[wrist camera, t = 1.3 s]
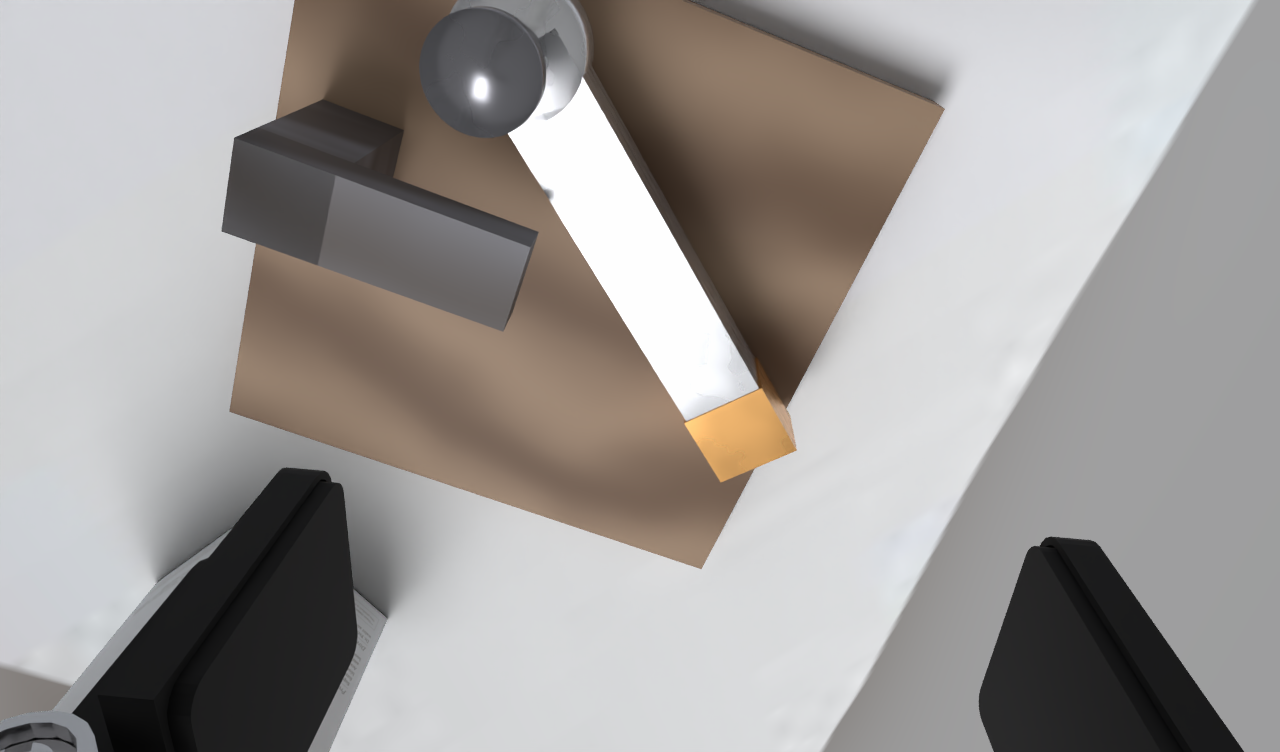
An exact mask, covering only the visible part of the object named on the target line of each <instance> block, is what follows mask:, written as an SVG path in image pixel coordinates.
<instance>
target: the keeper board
mask: <svg viewBox="0 0 1280 752" xmlns="http://www.w3.org/2000/svg"><path fill="white" fill-rule="evenodd" d="M457 1H458V0H295V2H294V8H293V15H292V21H291V27H290V34H289V40H288V46H287V52H286V59H285V65H284V71H283V78H282V84H281V90H280V96H279V103H278V109H277V115H276V120H274V121H272V122H269V123H267V124H265V125H263V126H260V127H258V128H256V129H253V130H251V131H249V132H246V133H244V134H242V135H240V136H237V137H235V138H234V144H233V151H232V158H231V166H230V173H229V180H228V187H227V195H226V202H225V209H224V217H223V224H222V232H225V233H228V234H231V235H233V236H236V237H239V238H242V239H245V240H247V241H250V242H253V243H256V247H255V254H254V260H253V266H252V273H251V279H250V285H249V291H248V298H247V304H246V310H245V317H244V323H243V329H242V335H241V342H240V348H239V354H238V361H237V367H236V373H235V379H234V386H233V392H232V398H231V405H230V411H229V412H232V413H235V414H238V415H241V416H244V417H247V418H250V419H253V420H256V421H259V422H262V423H265V424H268V425H271V426H274V427H277V428H280V429H283V430H286V431H289V432H292V433H295V434H298V435H301V436H304V437H307V438H310V439H313V440H316V441H319V442H322V443H325V444H328V445H331V446H334V447H337V448H340V449H343V450H346V451H349V452H352V453H355V454H358V455H361V456H364V457H367V458H370V459H373V460H376V461H379V462H382V463H385V464H388V465H391V466H394V467H397V468H400V469H403V470H406V471H409V472H412V473H415V474H418V475H421V476H424V477H427V478H430V479H433V480H436V481H439V482H442V483H445V484H448V485H451V486H454V487H457V488H460V489H463V490H466V491H469V492H472V493H475V494H478V495H481V496H484V497H487V498H490V499H493V500H496V501H499V502H502V503H505V504H508V505H511V506H514V507H517V508H520V509H523V510H526V511H529V512H532V513H535V514H538V515H541V516H544V517H547V518H550V519H553V520H556V521H559V522H562V523H565V524H568V525H571V526H574V527H577V528H580V529H583V530H586V531H589V532H592V533H595V534H598V535H601V536H604V537H607V538H610V539H613V540H616V541H619V542H622V543H625V544H628V545H631V546H634V547H637V548H640V549H643V550H646V551H649V552H652V553H655V554H658V555H661V556H664V557H667V558H670V559H673V560H676V561H679V562H682V563H685V564H688V565H691V566H694V567H697V568H700V569H702V567H703V565H704V563H705V561H706V559H707V557H708V555H709V554H710V552H711V550H712V548H713V546H714V544H715V542H716V540H717V538H718V537H719V535H720V533H721V531H722V529H723V527H724V525H725V523H726V521H727V520H728V518H729V516H730V514H731V512H732V510H733V508H734V506H735V504H736V503H737V501H738V499H739V497H740V495H741V493H742V491H743V489H744V487H745V486H746V484H747V482H748V480H749V478H750V476H751V474H752V472H753V470H754V469H755V468H754V469H752V470H749V471H747V472H745V473H742V474H740V475H738V476H735V477H733V478H730V479H728V480H726V481H723V482H720V480H719V479H718V477H717V476H716V474H715V472H714V471H713V469H712V468H711V466H710V464H709V463H708V461H707V460H706V458H705V456H704V455H703V453H702V451H701V450H700V448H699V447H698V445H697V443H696V442H695V440H694V439H693V437H692V435H691V434H690V432H689V431H688V429H687V427H686V426H685V424H684V417H683V415H682V414H681V412H680V410H679V409H678V407H677V406H676V404H675V402H674V401H673V399H672V397H671V396H670V394H669V393H668V391H667V389H666V388H665V386H664V385H663V383H662V381H661V380H660V378H659V376H658V375H657V373H656V372H655V370H654V368H653V367H652V365H651V364H650V362H649V360H648V359H647V357H646V355H645V354H644V352H643V351H642V349H641V347H640V346H639V344H638V343H637V341H636V339H635V338H634V336H633V334H632V333H631V331H630V330H629V328H628V326H627V325H626V323H625V322H624V320H623V318H622V317H621V315H620V313H619V312H618V310H617V309H616V307H615V305H614V304H613V302H612V300H611V299H610V297H609V296H608V294H607V292H606V291H605V289H604V288H603V286H602V284H601V283H600V281H599V279H598V278H597V276H596V275H595V273H594V271H593V270H592V268H591V267H590V265H589V263H588V262H587V260H586V258H585V257H584V255H583V254H582V252H581V250H580V249H579V247H578V246H577V244H576V242H575V241H574V239H573V237H572V236H571V234H570V233H569V231H568V229H567V228H566V226H565V225H564V223H563V221H562V220H561V218H560V216H559V215H558V213H557V212H556V210H555V208H554V207H553V205H552V204H551V202H550V200H549V199H548V197H547V195H546V194H545V192H544V191H543V189H542V187H541V186H540V184H539V182H538V181H537V179H536V178H535V176H534V174H533V173H532V171H531V170H530V168H529V166H528V165H527V163H526V161H525V160H524V158H523V157H522V155H521V153H520V152H519V150H518V149H517V147H516V145H515V144H514V142H513V140H512V139H511V137H510V136H509V134H506V135H503V136H499V137H494V138H478V137H473V136H469V135H466V134H463V133H461V132H459V131H457V130H455V129H454V128H452V127H451V126H449V125H448V124H447V123H445V122H444V121H443V120H442V119H441V118H440V117H439V116H438V115H437V114H436V113H435V111H434V110H433V108H432V107H431V105H430V104H429V102H428V100H427V98H426V96H425V94H424V91H423V88H422V85H421V80H420V73H419V62H420V54H421V50H422V47H423V44H424V41H425V39H426V37H427V35H428V34H429V32H430V31H431V29H432V28H433V27H434V26H435V25H436V24H437V23H438V22H439V21H440V20H442V19H443V18H444V17H446V16H448V15H449V14H450V12H451V10H452V8H453V6H454V5H455V3H456V2H457ZM579 1H580V3H581V4H582V6H583V8H584V9H585V11H586V13H587V16H588V18H589V21H590V24H591V27H592V31H593V37H594V56H593V62H592V67H593V69H594V71H595V73H596V75H597V76H598V78H599V80H600V82H601V83H602V85H603V87H604V89H605V91H606V92H607V94H608V96H609V98H610V100H611V101H612V103H613V105H614V107H615V109H616V110H617V112H618V114H619V116H620V118H621V119H622V121H623V123H624V125H625V126H626V128H627V130H628V132H629V134H630V135H631V137H632V139H633V141H634V143H635V144H636V146H637V148H638V150H639V152H640V153H641V155H642V157H643V159H644V161H645V162H646V164H647V166H648V168H649V169H650V171H651V173H652V175H653V177H654V178H655V180H656V182H657V184H658V186H659V187H660V189H661V191H662V193H663V195H664V196H665V198H666V200H667V202H668V204H669V205H670V207H671V209H672V211H673V212H674V214H675V216H676V218H677V220H678V221H679V223H680V225H681V227H682V229H683V230H684V232H685V234H686V236H687V238H688V239H689V241H690V243H691V245H692V246H693V248H694V250H695V252H696V254H697V255H698V257H699V259H700V261H701V263H702V264H703V266H704V268H705V270H706V272H707V273H708V275H709V277H710V279H711V281H712V282H713V284H714V286H715V288H716V289H717V291H718V293H719V295H720V297H721V298H722V300H723V302H724V304H725V306H726V307H727V309H728V311H729V313H730V315H731V316H732V318H733V320H734V322H735V324H736V325H737V327H738V329H739V331H740V332H741V334H742V336H743V338H744V340H745V341H746V343H747V345H748V347H749V349H750V350H751V352H752V354H753V356H754V358H756V357H758V359H759V361H760V363H761V364H762V366H763V368H764V370H765V372H766V373H767V375H768V377H769V379H770V381H771V382H772V384H773V386H774V388H775V390H776V391H777V393H778V395H779V397H780V399H781V400H782V402H783V404H784V406H785V408H787V406H788V404H789V402H790V401H791V399H792V397H793V395H794V393H795V391H796V389H797V387H798V385H799V384H800V382H801V380H802V378H803V376H804V374H805V372H806V370H807V368H808V367H809V365H810V363H811V361H812V359H813V357H814V355H815V353H816V351H817V350H818V348H819V346H820V344H821V342H822V340H823V338H824V336H825V334H826V333H827V331H828V329H829V327H830V325H831V323H832V321H833V319H834V317H835V316H836V314H837V312H838V310H839V308H840V306H841V304H842V302H843V300H844V299H845V297H846V295H847V293H848V291H849V289H850V287H851V285H852V283H853V281H854V280H855V278H856V276H857V274H858V272H859V270H860V268H861V266H862V264H863V263H864V261H865V259H866V257H867V255H868V253H869V251H870V249H871V247H872V246H873V244H874V242H875V240H876V238H877V236H878V234H879V232H880V230H881V229H882V227H883V225H884V223H885V221H886V219H887V217H888V215H889V213H890V212H891V210H892V208H893V206H894V204H895V202H896V200H897V198H898V196H899V195H900V193H901V191H902V189H903V187H904V185H905V183H906V181H907V179H908V178H909V176H910V174H911V172H912V170H913V168H914V166H915V164H916V162H917V161H918V159H919V157H920V155H921V153H922V151H923V149H924V147H925V145H926V144H927V142H928V140H929V138H930V136H931V134H932V132H933V130H934V128H935V127H936V125H937V123H938V121H939V119H940V117H941V115H942V113H943V111H944V110H945V109H944V108H943V107H941V106H940V105H938V104H937V103H935V102H934V101H932V100H929V99H927V98H924V97H922V96H920V95H917V94H915V93H912V92H910V91H907V90H905V89H903V88H900V87H898V86H895V85H893V84H891V83H888V82H886V81H883V80H881V79H878V78H876V77H874V76H871V75H869V74H866V73H864V72H862V71H859V70H857V69H854V68H852V67H849V66H847V65H845V64H842V63H840V62H837V61H835V60H832V59H830V58H828V57H825V56H823V55H820V54H818V53H816V52H813V51H811V50H808V49H806V48H803V47H801V46H799V45H796V44H794V43H791V42H789V41H786V40H784V39H782V38H779V37H777V36H774V35H772V34H770V33H767V32H765V31H762V30H760V29H757V28H755V27H753V26H750V25H748V24H745V23H743V22H741V21H738V20H736V19H733V18H731V17H728V16H726V15H724V14H721V13H719V12H716V11H714V10H711V9H709V8H707V7H704V6H702V5H699V4H697V3H695V2H692V1H690V0H579Z"/></svg>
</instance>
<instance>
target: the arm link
mask: <svg viewBox="0 0 1280 752" xmlns="http://www.w3.org/2000/svg"><path fill="white" fill-rule="evenodd" d="M593 56H594V37H593V31H592V27H591V24H590V21H589V18H588V16H587V13H586V11H585V9H584V8H583V6H582V4H581V3H580V1H579V0H458V1H457V2H456V3H455V5H454V6H453V8H452V10H451V12H450V14H449V15H448V16H446V17H444V18H443V19H442V20H440V21H439V22H438V23H437V24H436V25H435V26H434V27H433V28H432V29H431V31H430V32H429V34H428V35H427V37H426V39H425V41H424V44H423V47H422V50H421V54H420V62H419V73H420V80H421V85H422V88H423V91H424V94H425V96H426V98H427V100H428V102H429V104H430V105H431V107H432V108H433V110H434V111H435V113H436V114H437V115H438V116H439V117H440V118H441V119H442V120H443V121H444V122H445V123H447V124H448V125H449V126H451V127H452V128H454V129H455V130H457V131H459V132H461V133H463V134H466V135H469V136H473V137H478V138H494V137H499V136H503V135H506V134H509V136H510V137H511V139H512V140H513V142H514V144H515V145H516V147H517V149H518V150H519V152H520V153H521V155H522V157H523V158H524V160H525V161H526V163H527V165H528V166H529V168H530V170H531V171H532V173H533V174H534V176H535V178H536V179H537V181H538V182H539V184H540V186H541V187H542V189H543V191H544V192H545V194H546V195H547V197H548V199H549V200H550V202H551V204H552V205H553V207H554V208H555V210H556V212H557V213H558V215H559V216H560V218H561V220H562V221H563V223H564V225H565V226H566V228H567V229H568V231H569V233H570V234H571V236H572V237H573V239H574V241H575V242H576V244H577V246H578V247H579V249H580V250H581V252H582V254H583V255H584V257H585V258H586V260H587V262H588V263H589V265H590V267H591V268H592V270H593V271H594V273H595V275H596V276H597V278H598V279H599V281H600V283H601V284H602V286H603V288H604V289H605V291H606V292H607V294H608V296H609V297H610V299H611V300H612V302H613V304H614V305H615V307H616V309H617V310H618V312H619V313H620V315H621V317H622V318H623V320H624V322H625V323H626V325H627V326H628V328H629V330H630V331H631V333H632V334H633V336H634V338H635V339H636V341H637V343H638V344H639V346H640V347H641V349H642V351H643V352H644V354H645V355H646V357H647V359H648V360H649V362H650V364H651V365H652V367H653V368H654V370H655V372H656V373H657V375H658V376H659V378H660V380H661V381H662V383H663V385H664V386H665V388H666V389H667V391H668V393H669V394H670V396H671V397H672V399H673V401H674V402H675V404H676V406H677V407H678V409H679V410H680V412H681V414H682V415H683V417H684V424H685V426H686V427H687V429H688V431H689V432H690V434H691V435H692V437H693V439H694V440H695V442H696V443H697V445H698V447H699V448H700V450H701V451H702V453H703V455H704V456H705V458H706V460H707V461H708V463H709V464H710V466H711V468H712V469H713V471H714V472H715V474H716V476H717V477H718V479H719V480H720V482H723V481H726V480H728V479H730V478H733V477H735V476H738V475H740V474H742V473H745V472H747V471H749V470H752V469H754V468H756V467H759V466H761V465H763V464H766V463H768V462H770V461H773V460H775V459H778V458H780V457H782V456H785V455H787V454H789V453H792V452H794V451H796V450H797V449H796V444H795V439H794V434H793V429H792V423H791V418H790V415H789V413H788V411H787V409H786V408H785V406H784V404H783V402H782V400H781V399H780V397H779V395H778V393H777V391H776V390H775V388H774V386H773V384H772V382H771V381H770V379H769V377H768V375H767V373H766V372H765V370H764V368H763V366H762V364H761V363H760V361H759V359H758V357H756V358H754V356H753V354H752V352H751V350H750V349H749V347H748V345H747V343H746V341H745V340H744V338H743V336H742V334H741V332H740V331H739V329H738V327H737V325H736V324H735V322H734V320H733V318H732V316H731V315H730V313H729V311H728V309H727V307H726V306H725V304H724V302H723V300H722V298H721V297H720V295H719V293H718V291H717V289H716V288H715V286H714V284H713V282H712V281H711V279H710V277H709V275H708V273H707V272H706V270H705V268H704V266H703V264H702V263H701V261H700V259H699V257H698V255H697V254H696V252H695V250H694V248H693V246H692V245H691V243H690V241H689V239H688V238H687V236H686V234H685V232H684V230H683V229H682V227H681V225H680V223H679V221H678V220H677V218H676V216H675V214H674V212H673V211H672V209H671V207H670V205H669V204H668V202H667V200H666V198H665V196H664V195H663V193H662V191H661V189H660V187H659V186H658V184H657V182H656V180H655V178H654V177H653V175H652V173H651V171H650V169H649V168H648V166H647V164H646V162H645V161H644V159H643V157H642V155H641V153H640V152H639V150H638V148H637V146H636V144H635V143H634V141H633V139H632V137H631V135H630V134H629V132H628V130H627V128H626V126H625V125H624V123H623V121H622V119H621V118H620V116H619V114H618V112H617V110H616V109H615V107H614V105H613V103H612V101H611V100H610V98H609V96H608V94H607V92H606V91H605V89H604V87H603V85H602V83H601V82H600V80H599V78H598V76H597V75H596V73H595V71H594V69H593V67H592V62H593Z"/></svg>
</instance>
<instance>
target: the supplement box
mask: <svg viewBox="0 0 1280 752" xmlns="http://www.w3.org/2000/svg"><path fill="white" fill-rule="evenodd" d="M230 531H231V529H230V530H229V531H228V532H226V533H225V534H223V535H222V536H221V537H219V538H218V539H217V540H215V541H214V542H212V543H211V544H210V545H208V546H207V547H206V548H204V549H203V550H201V551H200V552H199V553H197V554H196V555H194V556H193V557H192V558H190V559H189V560H188V561H186V562H185V563H183V564H182V565H181V566H179V567H178V568H176V569H175V570H174V571H172V572H171V573H170V574H168V575H167V576H165V577H164V578H163V579H162V580H160V581H159V582H158V583H157V584H156V585H155V586H154V587H153V588H152V589H151V590H150V592H149V593H148V594H147V595H146V596H145V598H144V599H143V600H142V601H141V603H140V604H139V605H138V606H137V608H136V609H135V610H134V611H133V612H132V614H131V615H130V616H129V617H128V618H127V620H126V621H125V622H124V623H123V624H122V626H121V627H120V628H119V629H118V630H117V632H116V633H115V634H114V635H113V637H112V638H111V639H110V640H109V641H108V643H107V644H106V645H105V646H104V648H103V649H102V650H101V651H100V652H99V654H98V655H97V656H96V657H95V659H94V660H93V661H92V662H91V664H90V665H89V666H88V667H87V668H86V670H85V671H84V672H83V673H82V675H81V676H80V677H79V678H78V679H77V681H76V682H75V683H74V684H73V686H72V687H71V688H70V689H69V691H68V692H67V693H66V694H65V695H64V697H63V698H62V699H61V700H60V702H59V703H58V704H57V705H56V706H55V708H54V709H53V710H52V711H59V712H65V713H71V714H72V712H73V711H74V710H75V709H76V707H77V706H78V705H79V704H80V703H81V701H82V700H83V699H84V698H85V697H86V695H87V694H88V693H89V692H90V691H91V689H92V688H93V687H94V686H95V685H96V683H97V682H98V681H99V680H100V678H101V677H102V676H103V675H104V674H105V672H106V671H107V670H108V669H109V668H110V666H111V665H112V664H113V663H114V662H115V660H116V659H117V658H118V657H119V655H120V654H121V653H122V652H123V651H124V649H125V648H126V647H127V646H128V645H129V643H130V642H131V641H132V640H133V639H134V637H135V636H136V635H137V634H138V632H139V631H140V630H141V629H142V628H143V626H144V625H145V624H146V623H147V622H148V620H149V619H150V618H151V617H152V616H153V614H154V613H155V612H156V611H157V609H158V608H159V607H160V606H161V605H162V603H163V602H164V601H165V600H166V599H167V597H168V596H169V595H170V594H171V593H172V591H173V590H174V589H175V588H176V587H177V585H178V584H179V583H180V582H181V580H182V579H183V578H184V577H185V576H186V574H187V573H188V572H189V571H190V570H191V568H193V567H194V566H195V565H196V564H197V563H198V562H199V561H201V560H204V559H206V558H209V556H210V555H211V554H212V553H213V552H214V550H215V549H216V548H217V547H218V545H219V544H220V543H221V542H222V540H223V539H224V538H225V537H226V536H227V534H228V533H229V532H230ZM353 590H354V589H353ZM354 600H355V610H356V620H357V631H358V637H357V645H356V650H355V653H354V657H353V659H352V662H351V664H350V666H349V668H348V670H347V672H346V674H345V676H344V678H343V680H342V682H341V684H340V686H339V688H338V690H337V692H336V694H335V696H334V699H333V701H332V703H331V705H330V707H329V709H328V711H327V713H326V715H325V717H324V719H323V721H322V723H321V725H320V727H319V729H318V731H317V733H316V736H315V738H314V740H313V742H312V744H311V746H310V748H309V750H308V752H329V750H330V748H331V746H332V744H333V741H334V739H335V737H336V734H337V732H338V730H339V727H340V725H341V723H342V721H343V718H344V716H345V714H346V712H347V709H348V707H349V705H350V703H351V700H352V698H353V696H354V694H355V691H356V689H357V687H358V685H359V682H360V680H361V678H362V675H363V673H364V671H365V669H366V666H367V664H368V662H369V660H370V657H371V655H372V653H373V650H374V648H375V646H376V644H377V642H378V639H379V637H380V635H381V633H382V631H383V628H384V626H385V624H386V622H387V619H386V617H385V616H384V615H383V614H382V613H381V612H379V611H378V610H377V609H376V608H375V607H374V606H372V605H371V604H370V603H369V602H368V601H367V600H365V599H364V598H363V597H362V596H361V595H360V594H359V593H357V592H356V591H355V590H354Z"/></svg>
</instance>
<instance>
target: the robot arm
mask: <svg viewBox="0 0 1280 752" xmlns="http://www.w3.org/2000/svg"><path fill="white" fill-rule="evenodd" d="M357 637H358V631H357V620H356V610H355V600H354V590H353V580H352V571H351V561H350V551H349V541H348V531H347V521H346V511H345V501H344V492H343V488H342V485H341V484H340V483H334V482H331V478H330V476H329V474H328V473H327V472H326V471H319V470H308V469H297V468H282V469H281V470H280V471H279V472H278V473H277V474H276V475H275V476H274V478H273V479H272V480H271V481H270V483H269V484H268V485H267V486H266V488H265V489H264V490H263V491H262V492H261V494H260V495H259V496H258V497H257V499H256V500H255V501H254V502H253V504H252V505H251V506H250V507H249V508H248V510H247V511H246V512H245V513H244V515H243V516H242V517H241V518H240V520H239V521H238V522H237V523H236V524H235V526H234V527H233V528H232V529H231V531H230V532H229V533H228V534H227V536H226V537H225V538H224V539H223V540H222V542H221V543H220V544H219V545H218V547H217V548H216V549H215V550H214V552H213V553H212V554H211V555H210V556H209V558H206V559H204V560H201V561H199V562H198V563H197V564H196V565H195V566H194V567H193V568H191V570H190V571H189V572H188V573H187V574H186V576H185V577H184V578H183V579H182V580H181V582H180V583H179V584H178V585H177V587H176V588H175V589H174V590H173V591H172V593H171V594H170V595H169V596H168V597H167V599H166V600H165V601H164V602H163V603H162V605H161V606H160V607H159V608H158V609H157V611H156V612H155V613H154V614H153V616H152V617H151V618H150V619H149V620H148V622H147V623H146V624H145V625H144V626H143V628H142V629H141V630H140V631H139V632H138V634H137V635H136V636H135V637H134V639H133V640H132V641H131V642H130V643H129V645H128V646H127V647H126V648H125V649H124V651H123V652H122V653H121V654H120V655H119V657H118V658H117V659H116V660H115V662H114V663H113V664H112V665H111V666H110V668H109V669H108V670H107V671H106V672H105V674H104V675H103V676H102V677H101V678H100V680H99V681H98V682H97V683H96V685H95V686H94V687H93V688H92V689H91V691H90V692H89V693H88V694H87V695H86V697H85V698H84V699H83V700H82V701H81V703H80V704H79V705H78V706H77V707H76V709H75V710H74V711H73V712H72V714H71V713H65V712H59V711H42V712H30V713H26V714H23V715H19V716H16V717H12V718H8V719H4V720H2V721H0V752H308V750H309V748H310V746H311V744H312V742H313V740H314V738H315V736H316V733H317V731H318V729H319V727H320V725H321V723H322V721H323V719H324V717H325V715H326V713H327V711H328V709H329V707H330V705H331V703H332V701H333V699H334V696H335V694H336V692H337V690H338V688H339V686H340V684H341V682H342V680H343V678H344V676H345V674H346V672H347V670H348V668H349V666H350V664H351V662H352V659H353V657H354V653H355V650H356V645H357ZM979 710H980V716H981V719H982V722H983V725H984V727H985V730H986V732H987V735H988V737H989V740H990V743H991V745H992V748H993V751H994V752H1244V751H1243V750H1242V748H1241V747H1240V745H1239V744H1238V742H1237V741H1236V740H1235V738H1234V737H1233V735H1232V734H1231V732H1230V731H1229V730H1228V728H1227V727H1226V725H1225V724H1224V722H1223V721H1222V720H1221V718H1220V717H1219V715H1218V714H1217V713H1216V711H1215V710H1214V708H1213V707H1212V705H1211V704H1210V703H1209V701H1208V700H1207V698H1206V697H1205V696H1204V694H1203V693H1202V691H1201V690H1200V688H1199V687H1198V685H1197V684H1196V683H1195V681H1194V680H1193V678H1192V677H1191V676H1190V674H1189V673H1188V671H1187V670H1186V668H1185V667H1184V666H1183V664H1182V663H1181V661H1180V660H1179V658H1178V657H1177V656H1176V654H1175V653H1174V651H1173V650H1172V648H1171V647H1170V646H1169V644H1168V643H1167V641H1166V640H1165V639H1164V637H1163V636H1162V634H1161V633H1160V632H1159V630H1158V629H1157V627H1156V626H1155V625H1154V623H1153V622H1152V620H1151V619H1150V617H1149V616H1148V615H1147V613H1146V612H1145V610H1144V609H1143V607H1142V606H1141V605H1140V603H1139V602H1138V600H1137V599H1136V597H1135V596H1134V594H1133V593H1132V592H1131V590H1130V589H1129V587H1128V586H1127V585H1126V583H1125V582H1124V580H1123V579H1122V577H1121V576H1120V574H1119V573H1118V572H1117V570H1116V569H1115V567H1114V566H1113V565H1112V563H1111V562H1110V560H1109V559H1108V557H1107V556H1106V555H1105V553H1104V552H1103V551H1102V549H1101V547H1100V546H1099V545H1098V544H1097V543H1096V542H1094V541H1091V540H1081V539H1071V538H1060V537H1048V538H1045V539H1044V541H1043V542H1042V543H1041V545H1040V546H1033V547H1031V548H1030V549H1029V550H1028V552H1027V554H1026V557H1025V560H1024V563H1023V566H1022V569H1021V571H1020V574H1019V577H1018V580H1017V583H1016V587H1015V589H1014V593H1013V595H1012V598H1011V601H1010V604H1009V607H1008V610H1007V613H1006V616H1005V619H1004V622H1003V625H1002V627H1001V630H1000V633H999V636H998V639H997V643H996V645H995V648H994V651H993V654H992V657H991V660H990V663H989V666H988V668H987V671H986V674H985V677H984V680H983V683H982V686H981V689H980V694H979Z"/></svg>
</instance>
